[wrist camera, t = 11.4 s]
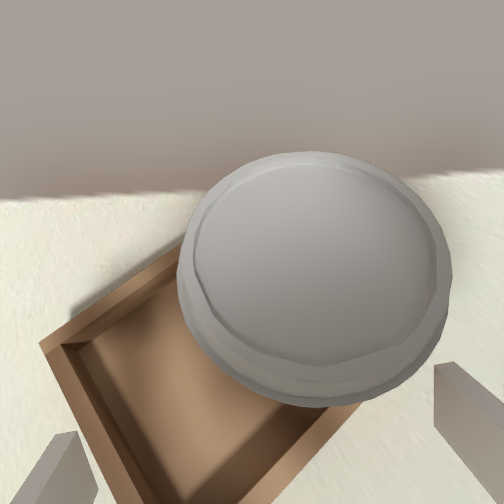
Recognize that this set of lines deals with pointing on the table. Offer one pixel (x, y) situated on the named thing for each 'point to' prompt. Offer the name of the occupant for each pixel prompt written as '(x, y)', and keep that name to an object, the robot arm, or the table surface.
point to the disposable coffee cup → (314, 279)
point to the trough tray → (175, 404)
